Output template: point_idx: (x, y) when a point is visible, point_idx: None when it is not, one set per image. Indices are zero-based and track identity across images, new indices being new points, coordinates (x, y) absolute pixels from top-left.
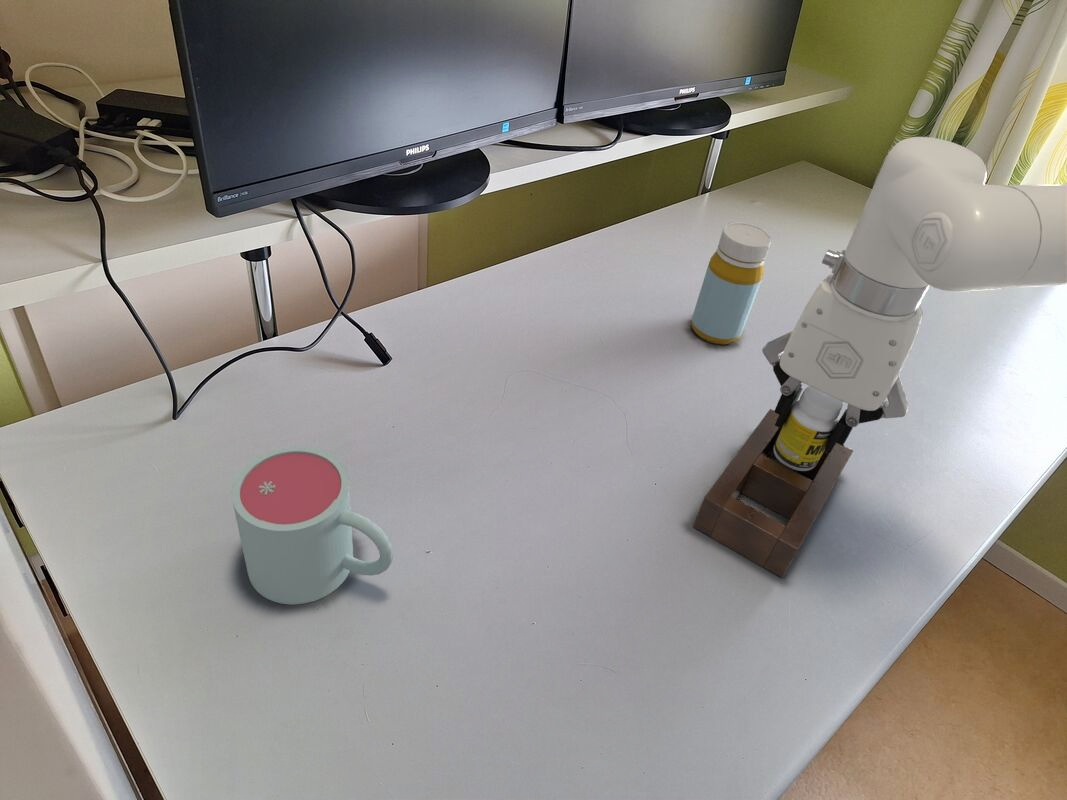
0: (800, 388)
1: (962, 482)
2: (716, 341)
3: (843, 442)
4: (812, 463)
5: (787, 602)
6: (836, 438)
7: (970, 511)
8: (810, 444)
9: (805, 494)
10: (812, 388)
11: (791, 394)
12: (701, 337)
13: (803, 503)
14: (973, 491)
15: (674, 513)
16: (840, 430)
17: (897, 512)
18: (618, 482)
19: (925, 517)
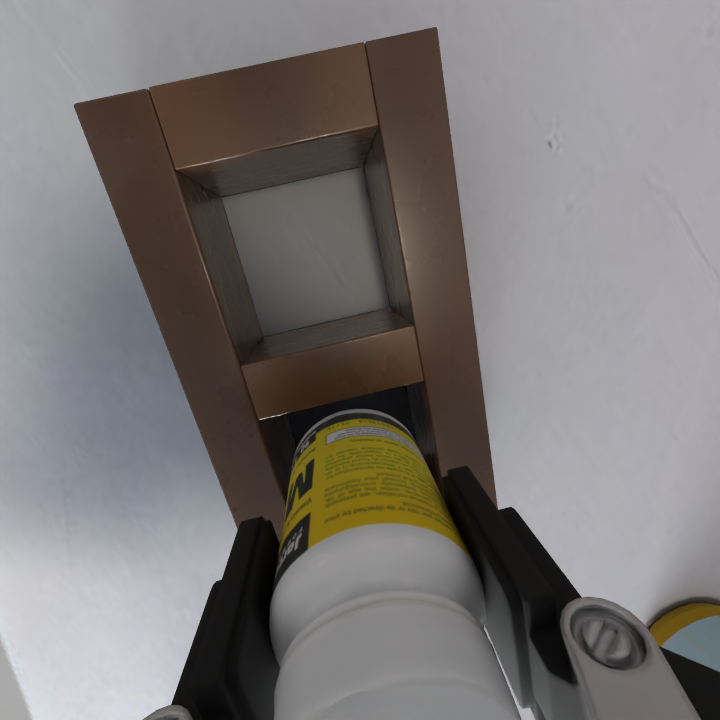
0: (531, 701)
1: (128, 705)
2: (675, 619)
3: (212, 594)
4: (292, 466)
5: (89, 91)
6: (224, 585)
7: (67, 662)
8: (311, 490)
9: (234, 355)
10: None
11: (548, 634)
12: (699, 603)
13: (211, 316)
14: (101, 703)
15: (460, 97)
16: (209, 639)
17: (144, 548)
18: (622, 57)
19: (103, 582)
